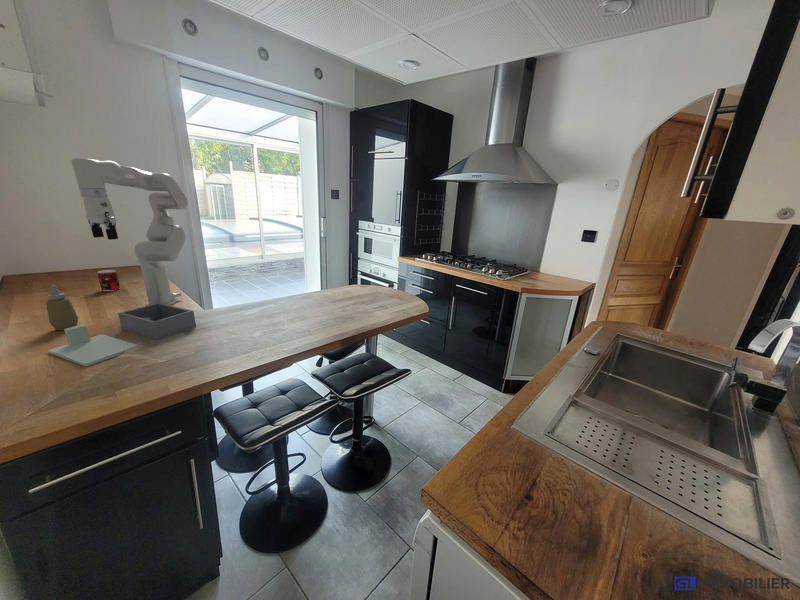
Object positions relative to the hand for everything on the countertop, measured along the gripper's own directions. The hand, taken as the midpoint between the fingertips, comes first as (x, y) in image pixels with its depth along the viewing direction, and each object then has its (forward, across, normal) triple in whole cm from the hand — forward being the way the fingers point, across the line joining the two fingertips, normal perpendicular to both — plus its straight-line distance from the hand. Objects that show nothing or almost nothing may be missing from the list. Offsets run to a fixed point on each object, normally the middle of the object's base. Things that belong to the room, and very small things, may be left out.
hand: (106, 238), depth 124 cm
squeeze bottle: (+36, +10, +16) cm, 40 cm away
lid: (+35, -23, +22) cm, 48 cm away
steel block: (+34, -20, +4) cm, 40 cm away
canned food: (+37, +59, -23) cm, 73 cm away
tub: (+35, -24, +1) cm, 43 cm away
